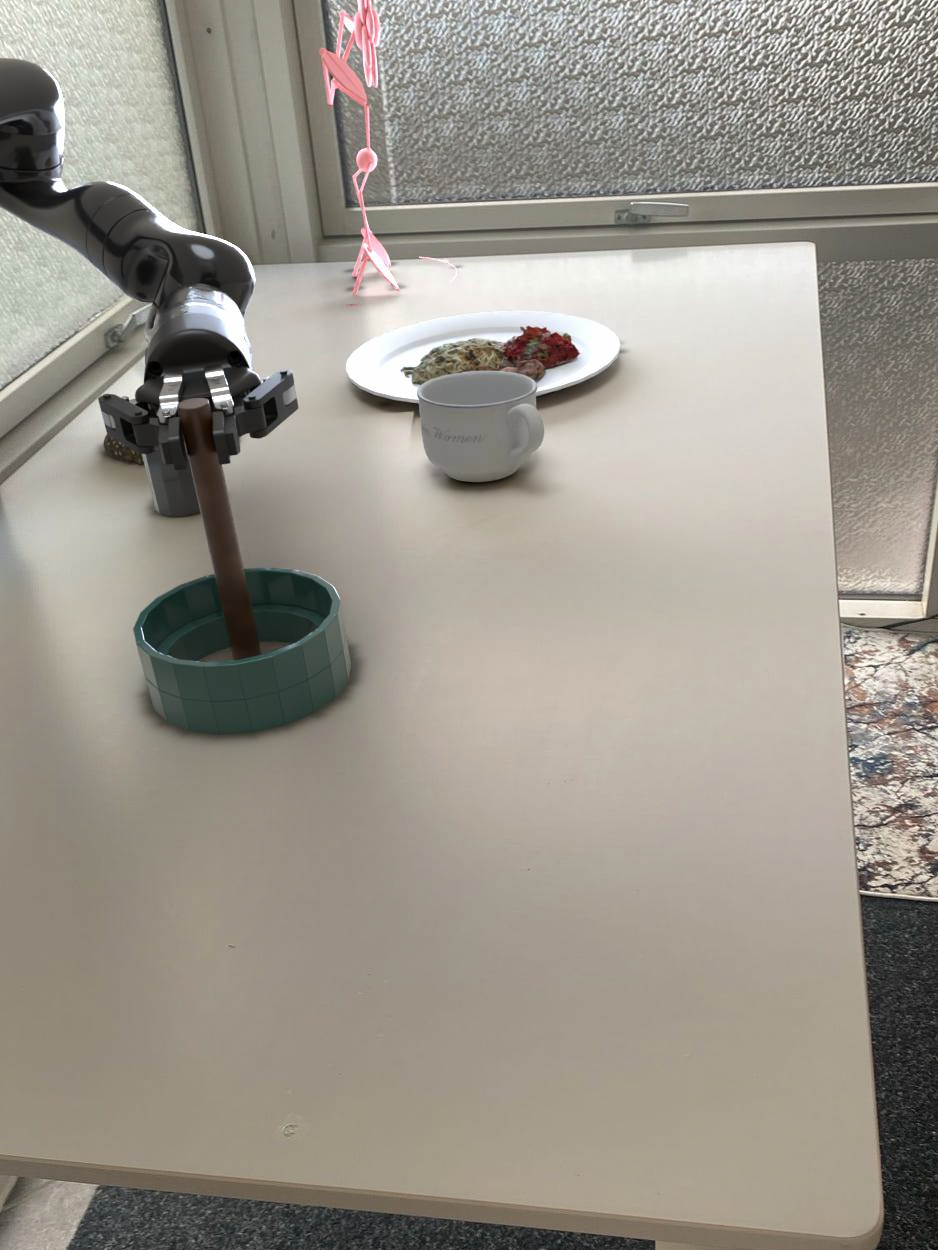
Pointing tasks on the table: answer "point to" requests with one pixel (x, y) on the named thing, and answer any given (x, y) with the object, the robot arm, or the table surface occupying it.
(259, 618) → the ring
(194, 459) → the stick
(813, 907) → the table surface
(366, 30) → the figurine
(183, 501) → the holder
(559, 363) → the plated food
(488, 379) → the teacup
